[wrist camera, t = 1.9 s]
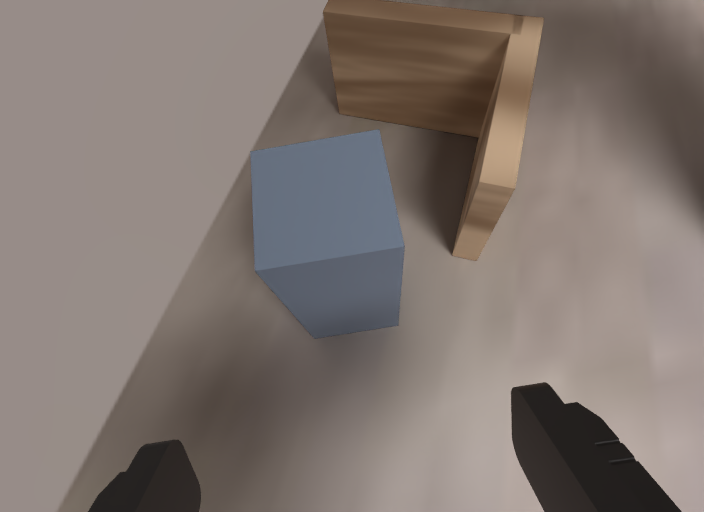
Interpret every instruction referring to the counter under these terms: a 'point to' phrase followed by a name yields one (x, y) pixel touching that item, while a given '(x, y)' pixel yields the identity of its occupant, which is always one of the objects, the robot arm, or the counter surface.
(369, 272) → the slate block
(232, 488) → the counter surface
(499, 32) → the oak corner bracket
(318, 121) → the counter surface
